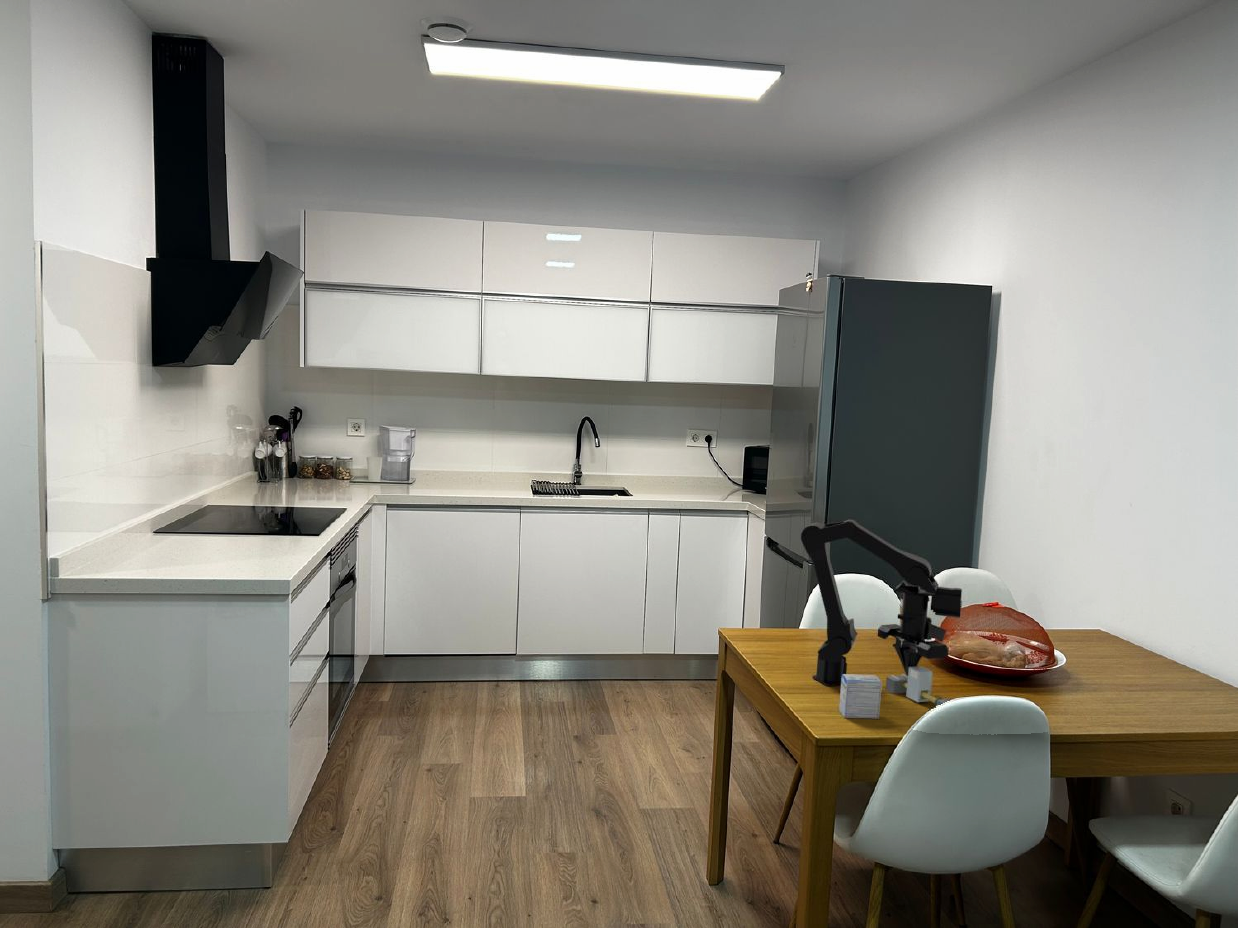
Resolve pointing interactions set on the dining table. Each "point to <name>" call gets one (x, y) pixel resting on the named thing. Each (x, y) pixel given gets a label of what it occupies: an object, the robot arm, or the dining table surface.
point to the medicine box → (860, 696)
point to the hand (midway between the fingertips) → (909, 675)
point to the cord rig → (900, 686)
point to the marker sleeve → (919, 683)
